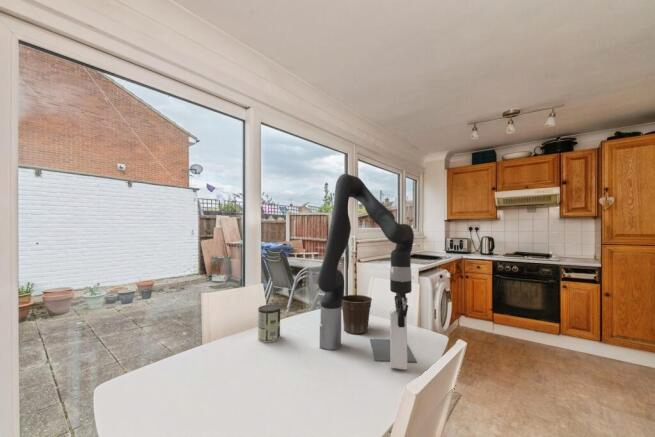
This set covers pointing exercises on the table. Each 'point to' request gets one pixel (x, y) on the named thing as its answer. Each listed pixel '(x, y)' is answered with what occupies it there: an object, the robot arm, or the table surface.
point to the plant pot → (356, 313)
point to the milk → (398, 342)
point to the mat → (387, 351)
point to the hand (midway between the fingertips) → (401, 326)
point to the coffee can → (269, 323)
